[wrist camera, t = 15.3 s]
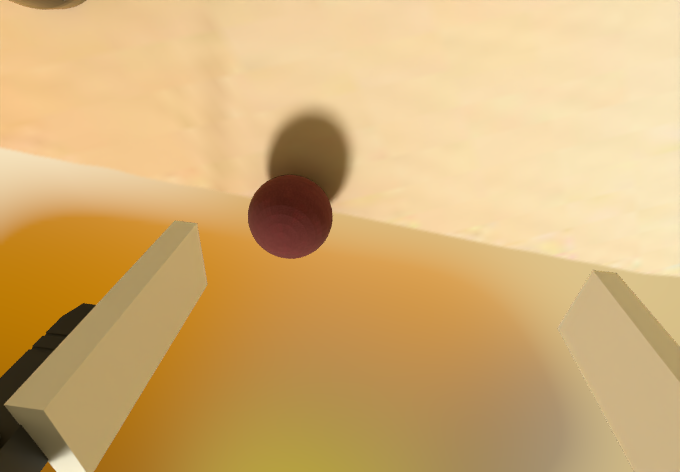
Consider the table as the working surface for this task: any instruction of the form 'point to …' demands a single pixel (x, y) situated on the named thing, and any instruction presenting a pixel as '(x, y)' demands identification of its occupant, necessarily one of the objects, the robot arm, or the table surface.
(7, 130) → the table surface
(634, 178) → the table surface
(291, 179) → the decorative ball
